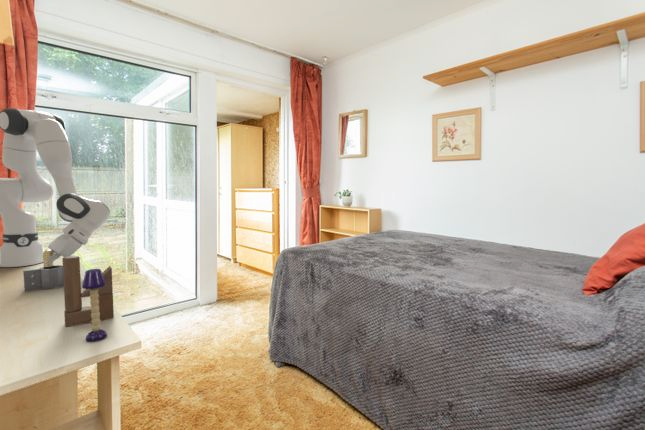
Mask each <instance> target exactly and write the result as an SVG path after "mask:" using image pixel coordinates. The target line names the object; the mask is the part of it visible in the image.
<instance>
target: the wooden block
mask: <svg viewBox="0 0 645 430" xmlns="http://www.w3.org/2000/svg"><path fill="white" fill-rule="evenodd" d="M80 260H81V258H80V256H79V255H71V256H67V257H62V266H63V280H64V286H63V295H64V312H63V313H64V327H66V328H67V327H72V326H73V327H74V326H78V325H83V324H88V323H92V322H91V321H92V318H91V313H92V312H91V305H88V306H83V303H82V301H83V300H82V299H83V298H90V294H91V293H90V289H84V290H83V292H82V283H81V262H80ZM112 270H113V269H112V267H111V265H108V267H106V269H104V271H102V274H103V277H104V279H105V282H106V285H105V286H103V287H99V288H98V294H99V297H98V300H99V304H98V305H99V313H100V317H99V318H100V321H104V320H110V319H114V312H115V309H114V293H113V292H114V290H113V271H112Z"/></svg>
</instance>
